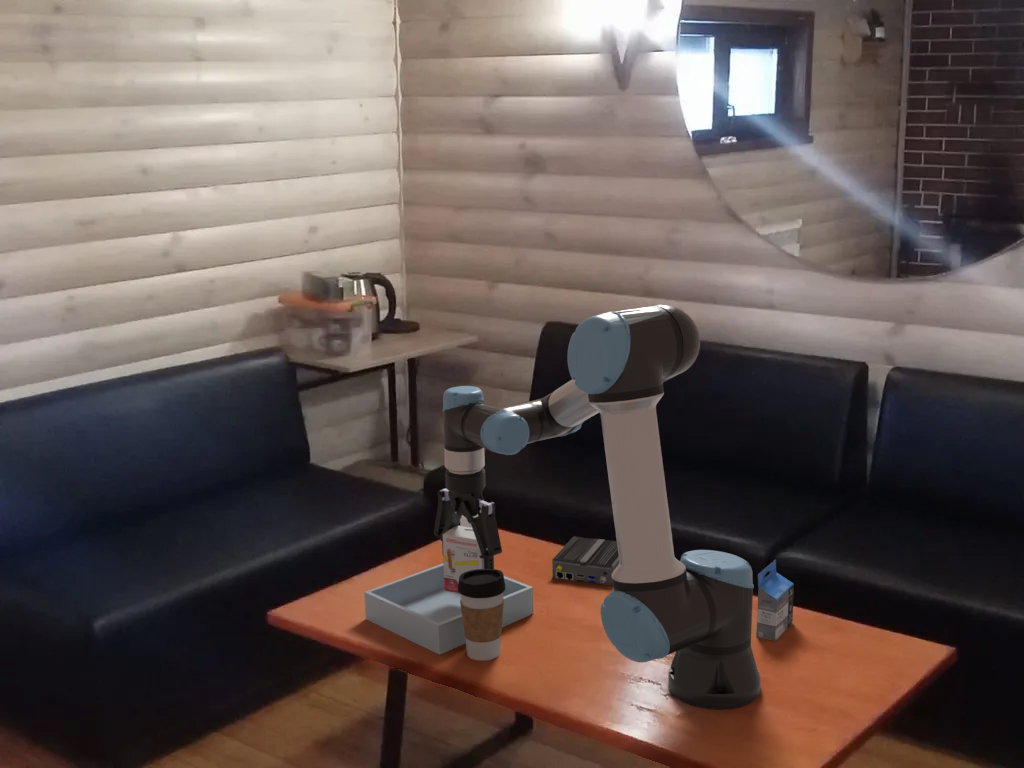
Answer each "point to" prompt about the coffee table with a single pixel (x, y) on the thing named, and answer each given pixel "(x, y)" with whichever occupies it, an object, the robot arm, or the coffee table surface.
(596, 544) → the electronic device
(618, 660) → the coffee table surface
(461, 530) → the ink box
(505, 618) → the tote
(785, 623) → the hang tab carton
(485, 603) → the coffee cup
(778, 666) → the coffee table surface
